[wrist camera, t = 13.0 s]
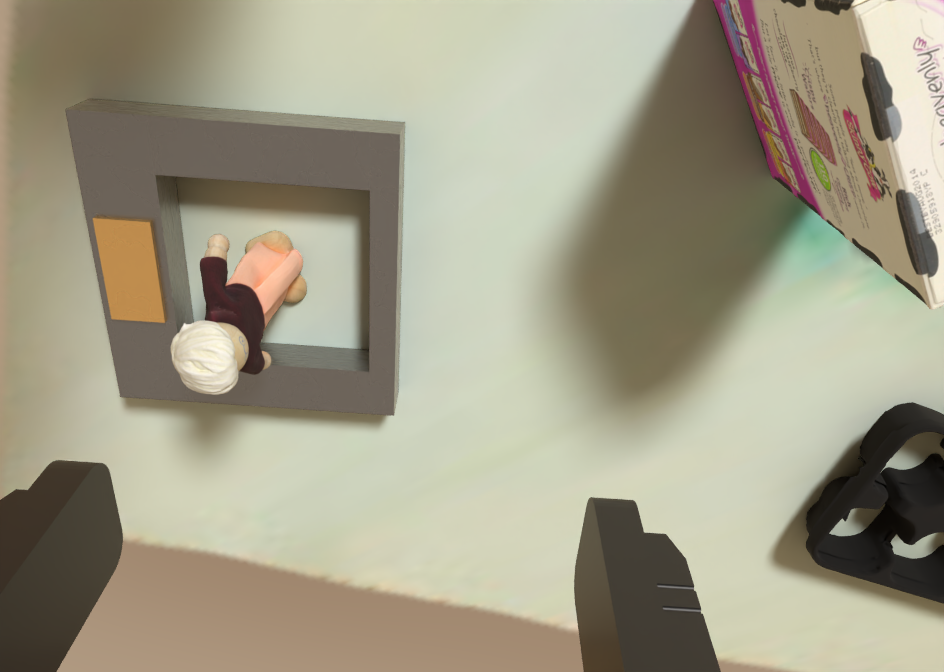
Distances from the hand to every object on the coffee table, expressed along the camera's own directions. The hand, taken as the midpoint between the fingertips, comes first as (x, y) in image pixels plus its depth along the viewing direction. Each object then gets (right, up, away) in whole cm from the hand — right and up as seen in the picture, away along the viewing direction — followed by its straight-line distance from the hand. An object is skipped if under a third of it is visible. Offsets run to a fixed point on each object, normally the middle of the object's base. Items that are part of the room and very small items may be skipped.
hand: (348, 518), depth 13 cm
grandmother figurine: (-9, +8, +31) cm, 33 cm away
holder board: (-10, +7, +31) cm, 33 cm away
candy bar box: (+18, +17, +25) cm, 35 cm away
